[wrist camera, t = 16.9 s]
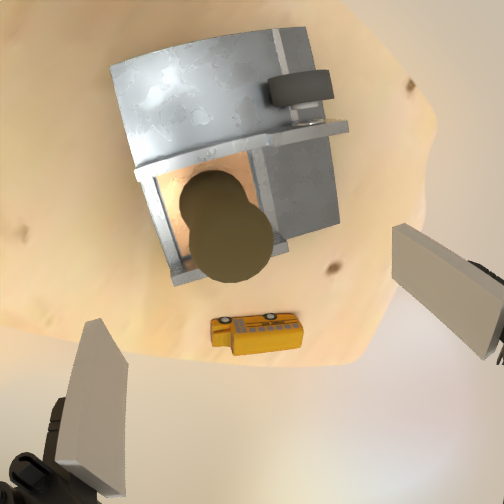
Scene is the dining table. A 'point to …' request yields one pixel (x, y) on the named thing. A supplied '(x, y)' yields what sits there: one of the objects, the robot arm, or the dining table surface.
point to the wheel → (301, 89)
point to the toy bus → (257, 333)
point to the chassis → (228, 134)
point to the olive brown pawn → (225, 227)
